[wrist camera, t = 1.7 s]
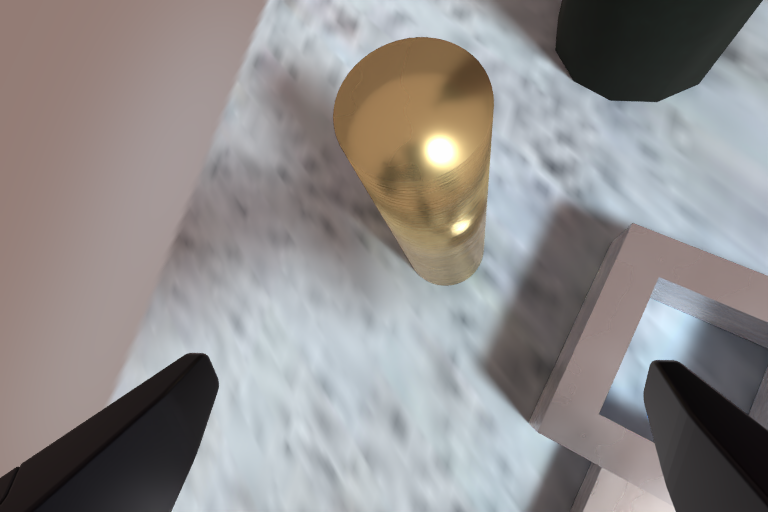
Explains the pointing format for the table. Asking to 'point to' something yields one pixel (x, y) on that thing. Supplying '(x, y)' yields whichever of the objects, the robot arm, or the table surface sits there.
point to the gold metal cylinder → (422, 149)
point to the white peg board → (609, 344)
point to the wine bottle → (646, 43)
